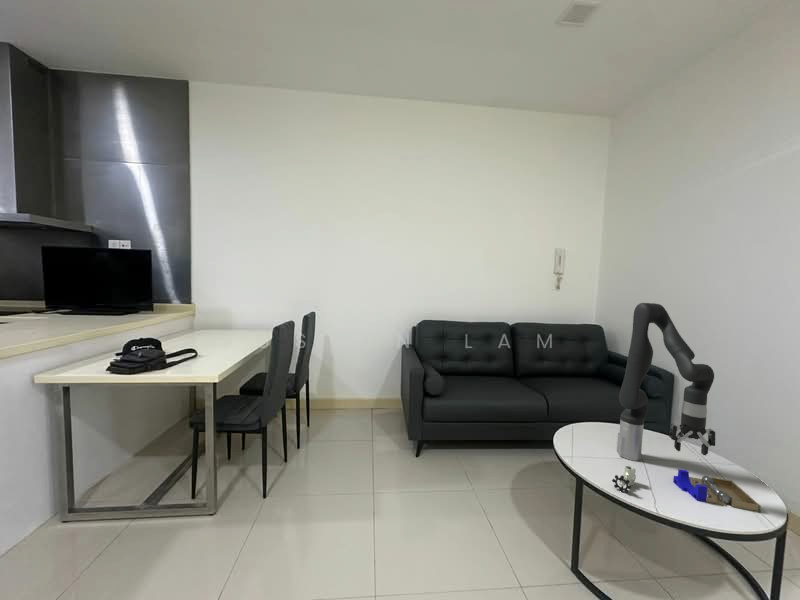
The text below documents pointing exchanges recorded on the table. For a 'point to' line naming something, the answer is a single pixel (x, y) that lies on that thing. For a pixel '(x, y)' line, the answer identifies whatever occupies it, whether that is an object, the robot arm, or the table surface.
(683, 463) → the table surface
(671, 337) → the robot arm
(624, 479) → the valve
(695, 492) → the blue curved bracket
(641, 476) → the table surface
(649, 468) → the table surface
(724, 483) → the hinge base
